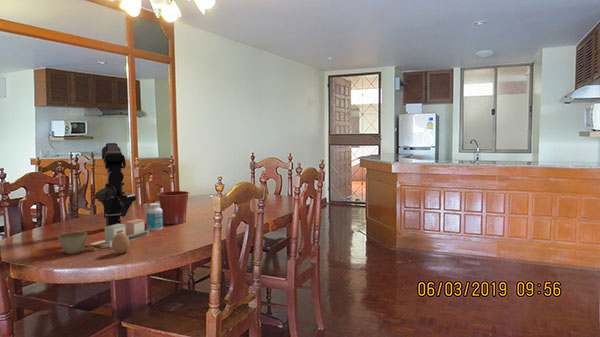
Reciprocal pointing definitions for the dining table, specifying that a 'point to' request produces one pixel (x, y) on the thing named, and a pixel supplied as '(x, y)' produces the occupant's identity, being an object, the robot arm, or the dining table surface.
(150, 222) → the pill bottle
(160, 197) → the flower pot
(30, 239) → the dining table surface
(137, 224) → the carton
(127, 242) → the egg
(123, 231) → the pale green block
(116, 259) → the dining table surface
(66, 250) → the bowl
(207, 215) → the dining table surface
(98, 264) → the dining table surface
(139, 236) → the shelf
